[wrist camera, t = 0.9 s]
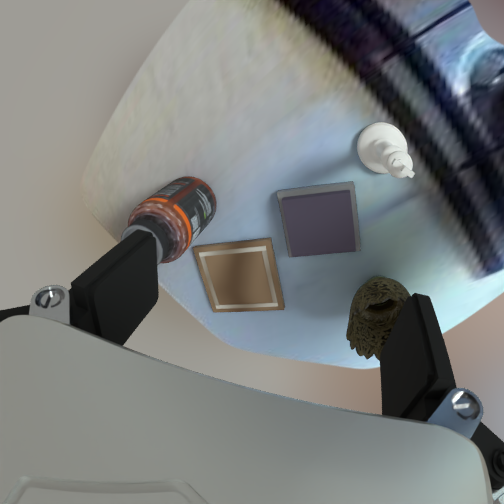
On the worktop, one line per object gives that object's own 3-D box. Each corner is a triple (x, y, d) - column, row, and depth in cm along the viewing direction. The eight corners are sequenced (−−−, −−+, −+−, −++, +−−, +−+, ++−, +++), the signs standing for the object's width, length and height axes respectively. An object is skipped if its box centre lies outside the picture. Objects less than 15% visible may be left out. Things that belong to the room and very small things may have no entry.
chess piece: (373, 112, 26) (395, 119, 18) (415, 141, 27) (452, 163, 18) (347, 154, 29) (356, 180, 20) (389, 182, 29) (413, 219, 20)
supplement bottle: (158, 194, 35) (98, 236, 25) (195, 164, 33) (138, 197, 23) (190, 236, 37) (141, 289, 27) (229, 209, 34) (187, 259, 24)
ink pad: (353, 181, 30) (354, 186, 28) (359, 246, 33) (361, 255, 31) (278, 190, 32) (275, 196, 30) (290, 252, 35) (287, 261, 33)
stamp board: (270, 237, 35) (269, 240, 34) (284, 306, 38) (283, 310, 38) (194, 245, 37) (192, 248, 37) (215, 309, 41) (213, 312, 40)
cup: (381, 323, 36) (388, 371, 29) (333, 295, 36) (331, 342, 29) (421, 278, 33) (438, 323, 26) (372, 245, 32) (381, 287, 25)
